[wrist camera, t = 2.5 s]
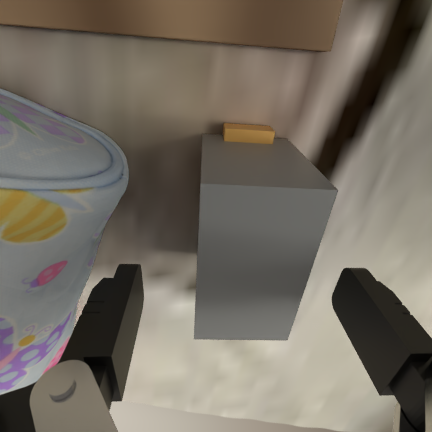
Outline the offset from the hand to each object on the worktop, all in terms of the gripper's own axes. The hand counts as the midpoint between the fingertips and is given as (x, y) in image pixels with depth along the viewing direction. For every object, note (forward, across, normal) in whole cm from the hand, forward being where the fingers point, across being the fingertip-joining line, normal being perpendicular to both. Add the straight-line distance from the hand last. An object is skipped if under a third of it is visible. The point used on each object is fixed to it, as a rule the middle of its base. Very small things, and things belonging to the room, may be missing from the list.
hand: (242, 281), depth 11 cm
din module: (+6, -1, 0) cm, 6 cm away
